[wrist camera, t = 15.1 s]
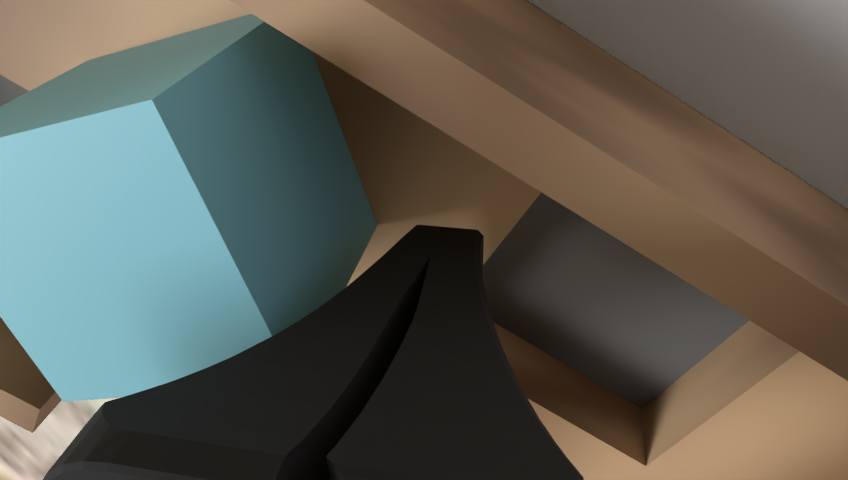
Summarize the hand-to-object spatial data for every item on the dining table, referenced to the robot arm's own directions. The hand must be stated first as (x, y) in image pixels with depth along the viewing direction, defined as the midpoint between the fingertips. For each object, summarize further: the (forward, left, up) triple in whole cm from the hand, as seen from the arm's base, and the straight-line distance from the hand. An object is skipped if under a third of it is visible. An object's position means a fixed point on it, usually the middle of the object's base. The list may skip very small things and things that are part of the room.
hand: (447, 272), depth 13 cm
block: (+5, +1, -1) cm, 5 cm away
